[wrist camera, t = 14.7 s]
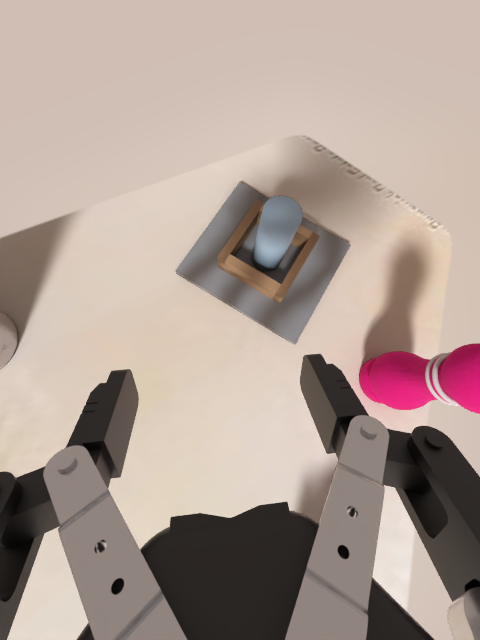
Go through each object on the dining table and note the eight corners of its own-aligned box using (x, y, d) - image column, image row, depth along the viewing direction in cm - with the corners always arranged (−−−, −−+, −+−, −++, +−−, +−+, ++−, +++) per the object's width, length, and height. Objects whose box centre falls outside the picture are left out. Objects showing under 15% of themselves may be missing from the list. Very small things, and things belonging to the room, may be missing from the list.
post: (245, 261, 41) (254, 217, 30) (261, 238, 42) (275, 188, 31) (271, 277, 40) (290, 239, 30) (286, 254, 41) (309, 209, 31)
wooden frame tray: (176, 273, 41) (171, 260, 36) (239, 186, 45) (241, 164, 40) (294, 344, 39) (303, 339, 35) (347, 247, 44) (362, 232, 39)
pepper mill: (376, 344, 40) (520, 308, 21) (414, 380, 39) (602, 377, 20) (344, 380, 39) (468, 376, 19) (384, 418, 38) (554, 454, 19)
